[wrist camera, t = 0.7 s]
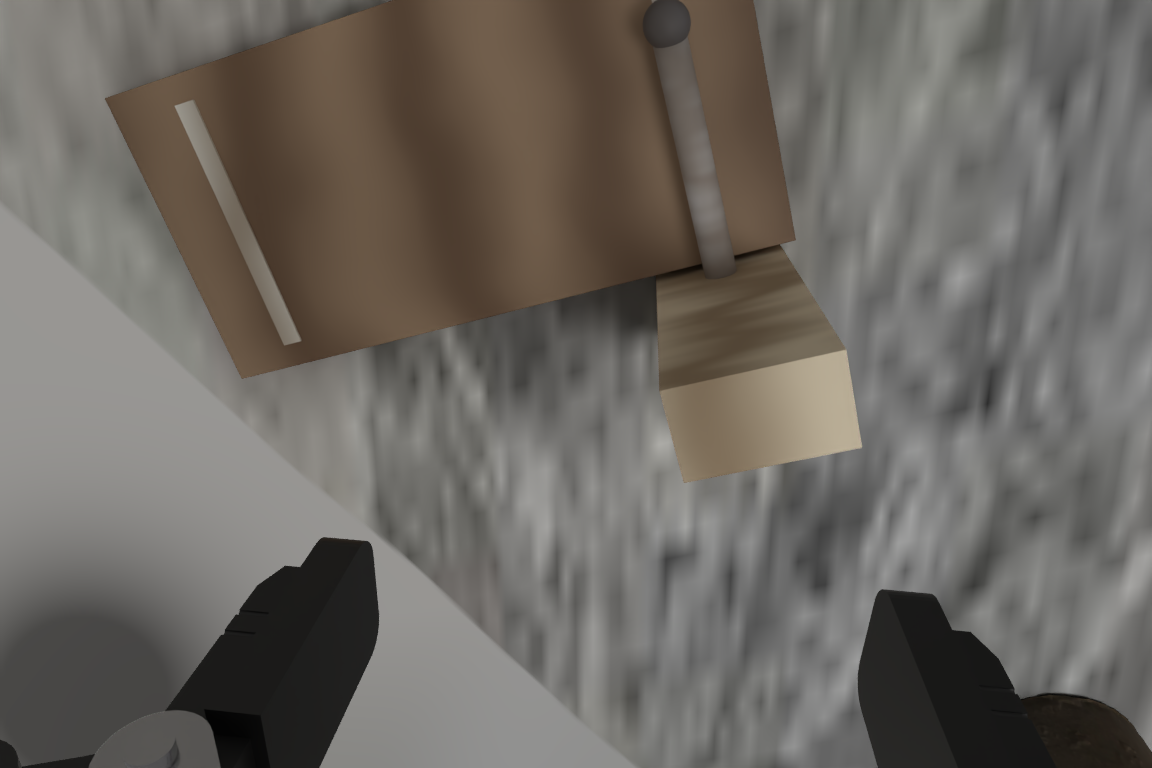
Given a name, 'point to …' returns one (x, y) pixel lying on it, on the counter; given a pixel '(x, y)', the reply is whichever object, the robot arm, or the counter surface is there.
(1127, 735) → the pillar candle
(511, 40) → the walnut board
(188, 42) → the counter surface
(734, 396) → the marking gauge
